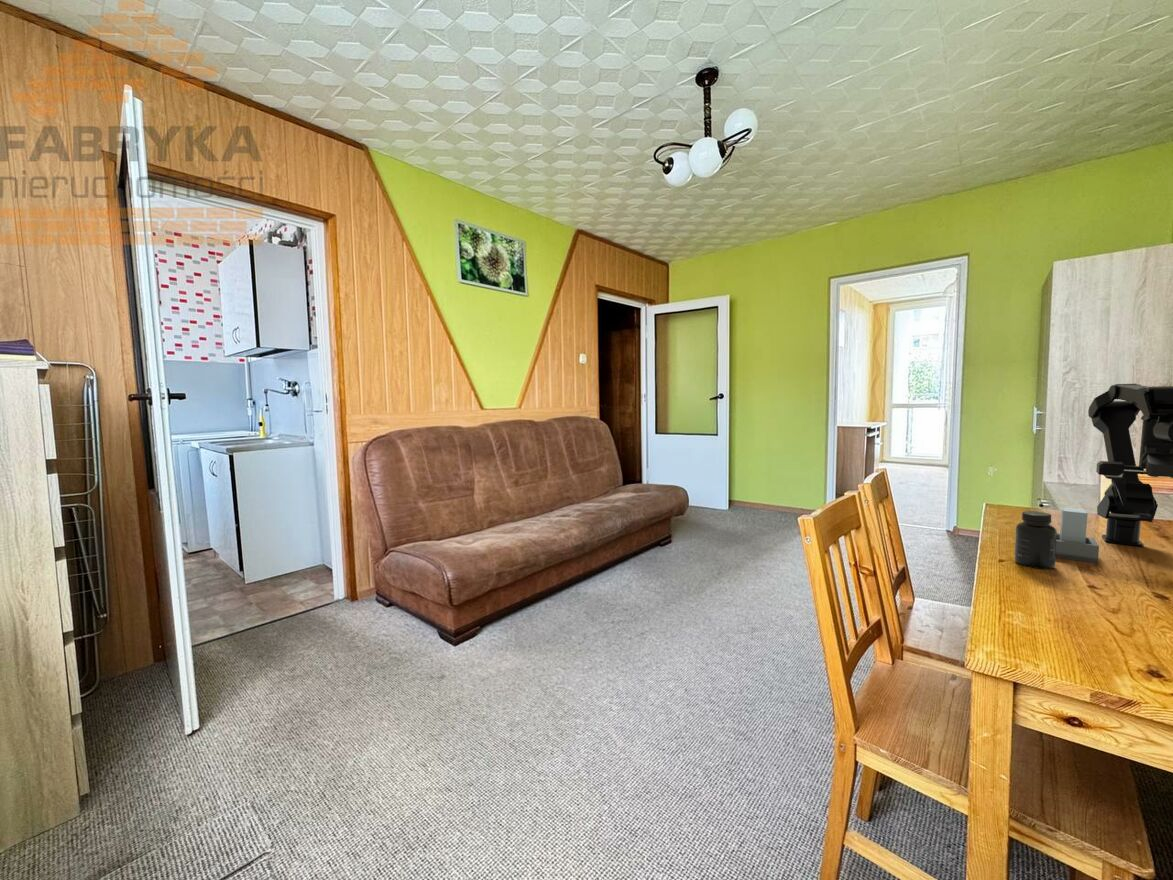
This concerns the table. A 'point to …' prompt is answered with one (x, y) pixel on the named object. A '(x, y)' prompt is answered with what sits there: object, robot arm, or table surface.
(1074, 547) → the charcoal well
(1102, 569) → the table surface
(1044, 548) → the supplement bottle
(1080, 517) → the blue-grey block
